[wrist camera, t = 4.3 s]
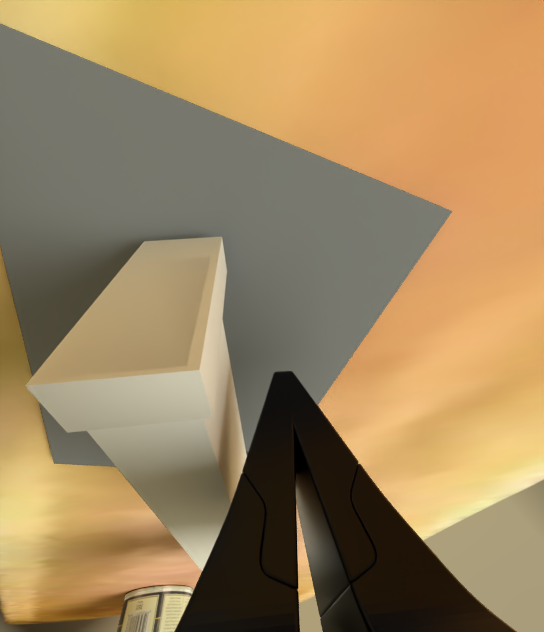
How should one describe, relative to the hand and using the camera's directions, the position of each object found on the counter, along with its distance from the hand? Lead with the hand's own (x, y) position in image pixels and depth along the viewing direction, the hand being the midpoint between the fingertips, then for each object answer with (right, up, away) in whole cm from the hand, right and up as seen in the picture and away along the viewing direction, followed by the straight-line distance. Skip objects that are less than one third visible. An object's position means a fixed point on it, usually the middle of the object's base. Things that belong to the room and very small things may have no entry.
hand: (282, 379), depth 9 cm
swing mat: (-4, 0, +4) cm, 6 cm away
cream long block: (-3, -1, +4) cm, 5 cm away
